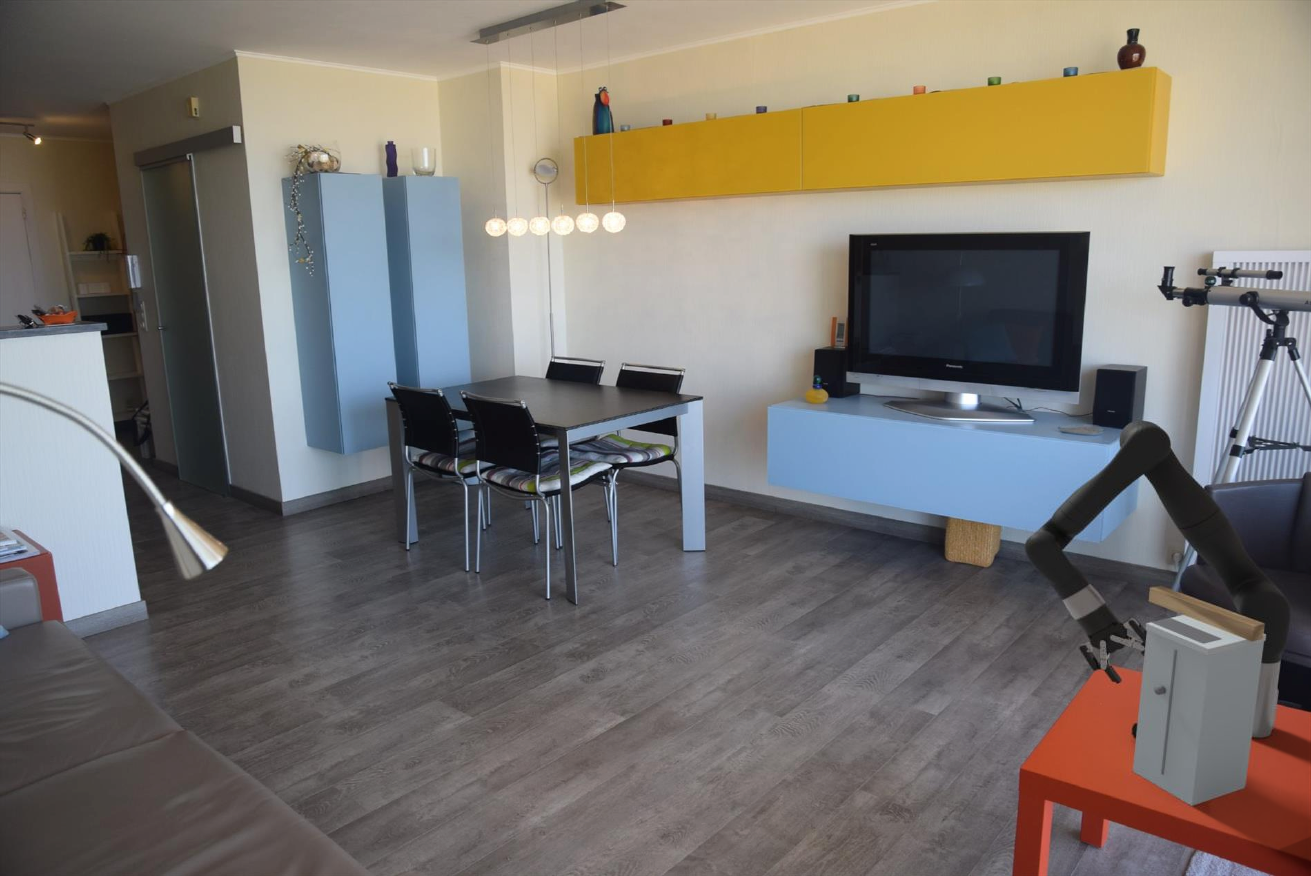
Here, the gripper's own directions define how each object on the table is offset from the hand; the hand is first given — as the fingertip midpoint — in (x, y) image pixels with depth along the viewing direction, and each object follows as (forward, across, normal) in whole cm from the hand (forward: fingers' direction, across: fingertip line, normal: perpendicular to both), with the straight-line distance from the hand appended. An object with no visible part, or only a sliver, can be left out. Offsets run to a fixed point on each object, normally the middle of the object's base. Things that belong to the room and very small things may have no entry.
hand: (1136, 673), depth 199 cm
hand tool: (+12, +6, -6) cm, 15 cm away
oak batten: (-6, -21, +11) cm, 25 cm away
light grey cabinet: (+19, -1, +14) cm, 24 cm away
